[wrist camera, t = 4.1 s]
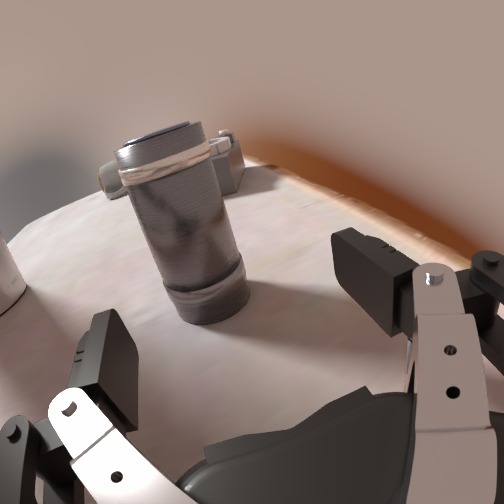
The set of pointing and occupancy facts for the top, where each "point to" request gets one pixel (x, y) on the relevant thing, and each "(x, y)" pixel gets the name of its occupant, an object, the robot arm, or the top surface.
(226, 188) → the grey socket block
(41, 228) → the top surface
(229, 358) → the top surface
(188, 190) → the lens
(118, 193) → the ceramic mug
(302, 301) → the top surface
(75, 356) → the robot arm
